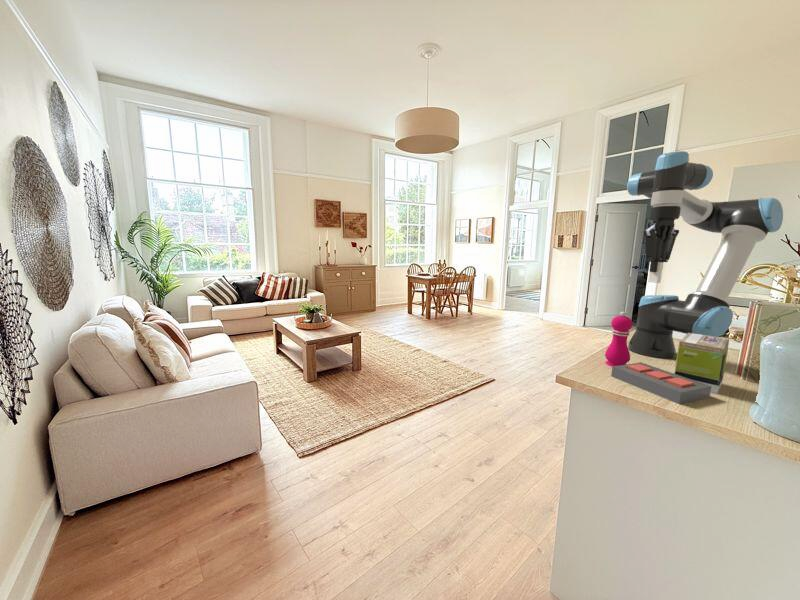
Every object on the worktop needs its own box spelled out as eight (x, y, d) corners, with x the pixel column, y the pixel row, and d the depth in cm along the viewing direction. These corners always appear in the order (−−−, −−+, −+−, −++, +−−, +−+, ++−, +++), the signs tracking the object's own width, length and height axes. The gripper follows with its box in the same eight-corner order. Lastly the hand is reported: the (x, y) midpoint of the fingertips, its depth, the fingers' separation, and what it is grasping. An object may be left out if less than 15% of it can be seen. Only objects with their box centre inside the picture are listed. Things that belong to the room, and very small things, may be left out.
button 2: (656, 382, 99) (657, 370, 98) (669, 387, 96) (671, 375, 95) (644, 384, 97) (645, 372, 97) (657, 389, 94) (659, 377, 93)
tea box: (680, 374, 109) (688, 331, 107) (722, 384, 102) (731, 338, 99) (671, 386, 99) (679, 339, 97) (716, 398, 92) (726, 348, 89)
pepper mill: (632, 373, 109) (640, 314, 106) (608, 371, 111) (616, 313, 108) (622, 365, 116) (630, 310, 113) (600, 363, 118) (607, 308, 114)
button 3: (676, 389, 94) (678, 377, 93) (691, 395, 90) (694, 382, 90) (664, 392, 92) (666, 379, 92) (679, 398, 89) (681, 385, 88)
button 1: (637, 375, 104) (639, 364, 104) (650, 379, 101) (652, 368, 100) (626, 377, 102) (627, 365, 102) (638, 381, 99) (640, 370, 98)
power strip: (619, 368, 114) (621, 355, 113) (708, 401, 90) (711, 386, 89) (592, 372, 109) (594, 359, 109) (678, 408, 86) (680, 392, 85)
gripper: (666, 208, 107) (655, 280, 111) (638, 206, 103) (628, 281, 107) (693, 206, 100) (680, 283, 104) (664, 204, 96) (652, 284, 100)
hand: (654, 282), depth 105 cm, fingers closed
